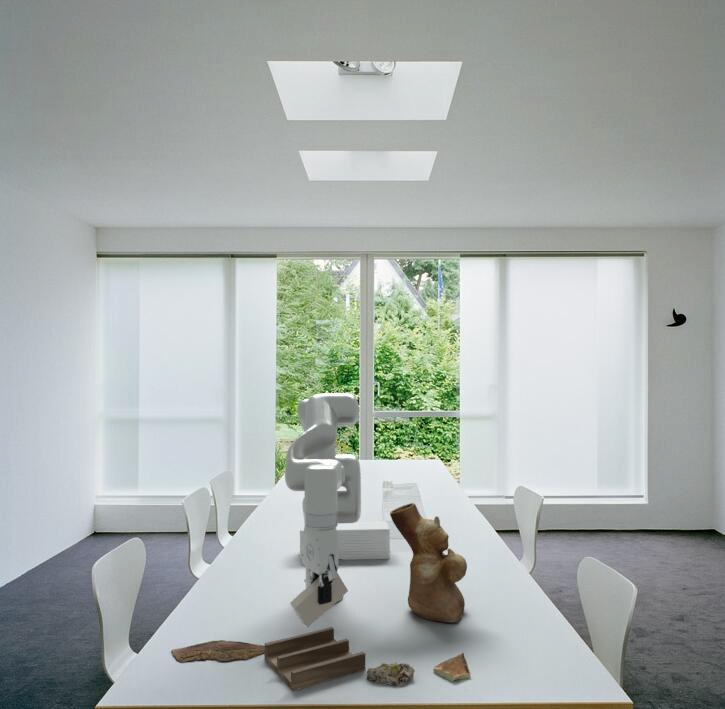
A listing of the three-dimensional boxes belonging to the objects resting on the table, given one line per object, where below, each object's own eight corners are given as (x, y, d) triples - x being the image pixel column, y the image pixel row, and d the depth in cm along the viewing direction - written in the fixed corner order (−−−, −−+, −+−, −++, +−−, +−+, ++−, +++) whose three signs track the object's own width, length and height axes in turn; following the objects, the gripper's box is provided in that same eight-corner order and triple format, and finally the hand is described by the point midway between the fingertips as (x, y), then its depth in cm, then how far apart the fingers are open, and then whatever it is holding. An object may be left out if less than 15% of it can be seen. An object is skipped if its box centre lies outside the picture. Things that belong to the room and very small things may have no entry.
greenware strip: (302, 622, 142) (289, 602, 141) (341, 586, 148) (330, 567, 146) (308, 627, 140) (295, 607, 138) (348, 590, 145) (336, 570, 143)
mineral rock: (410, 657, 145) (415, 663, 138) (412, 678, 144) (417, 685, 136) (364, 660, 144) (366, 667, 137) (365, 681, 143) (368, 689, 136)
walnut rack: (264, 659, 149) (264, 643, 149) (331, 641, 158) (331, 626, 158) (293, 690, 135) (293, 673, 135) (365, 669, 144) (365, 653, 144)
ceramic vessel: (461, 628, 165) (460, 514, 166) (382, 617, 173) (382, 508, 173) (472, 606, 180) (471, 502, 180) (399, 597, 188) (398, 496, 188)
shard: (463, 658, 150) (463, 651, 150) (488, 670, 144) (488, 662, 144) (431, 673, 143) (431, 665, 143) (457, 686, 137) (457, 678, 137)
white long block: (386, 550, 235) (386, 521, 235) (389, 559, 224) (389, 529, 225) (301, 551, 233) (301, 522, 233) (300, 561, 223) (299, 530, 223)
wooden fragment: (164, 664, 147) (164, 659, 147) (176, 643, 158) (176, 639, 158) (274, 663, 148) (274, 658, 148) (279, 642, 159) (279, 638, 159)
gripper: (291, 514, 148) (291, 592, 148) (322, 530, 134) (322, 616, 134) (319, 510, 152) (320, 586, 152) (352, 525, 138) (353, 609, 138)
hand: (321, 599), depth 143 cm, fingers closed on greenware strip, 2 cm apart
